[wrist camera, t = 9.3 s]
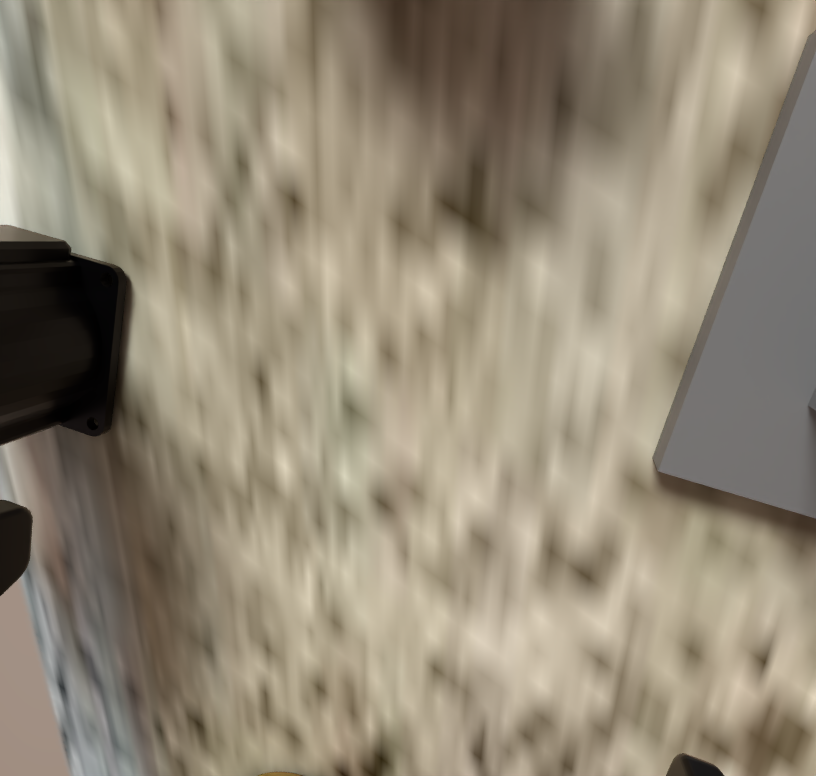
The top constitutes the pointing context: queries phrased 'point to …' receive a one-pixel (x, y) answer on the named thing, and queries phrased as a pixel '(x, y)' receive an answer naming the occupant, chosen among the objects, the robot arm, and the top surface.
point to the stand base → (760, 334)
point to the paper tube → (279, 774)
